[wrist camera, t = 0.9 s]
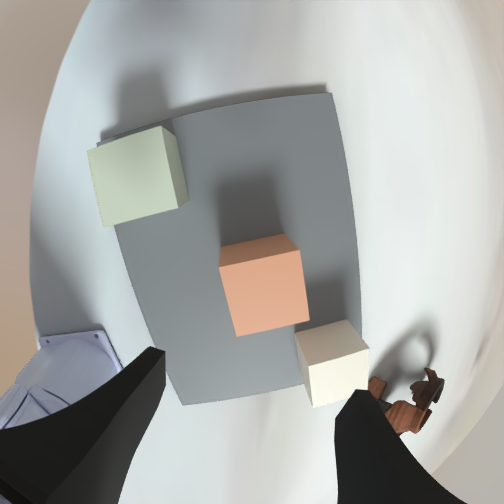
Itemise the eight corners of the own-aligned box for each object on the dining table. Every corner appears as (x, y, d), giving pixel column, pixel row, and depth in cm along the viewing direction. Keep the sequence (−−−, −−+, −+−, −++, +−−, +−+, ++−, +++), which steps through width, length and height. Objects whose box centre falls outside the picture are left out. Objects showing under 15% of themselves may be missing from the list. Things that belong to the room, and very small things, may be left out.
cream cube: (300, 373, 26) (313, 408, 21) (294, 332, 25) (308, 366, 20) (348, 360, 26) (367, 391, 21) (346, 318, 25) (369, 348, 20)
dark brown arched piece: (377, 353, 28) (440, 378, 22) (403, 351, 34) (453, 370, 27) (336, 440, 28) (388, 471, 21) (370, 424, 33) (414, 447, 27)
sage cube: (129, 216, 21) (103, 227, 16) (115, 154, 19) (87, 150, 15) (189, 200, 21) (178, 208, 16) (175, 136, 20) (160, 125, 15)
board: (183, 399, 27) (182, 405, 26) (101, 144, 20) (96, 143, 19) (358, 361, 28) (361, 366, 27) (327, 95, 20) (331, 92, 19)
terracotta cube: (234, 304, 23) (236, 336, 19) (220, 247, 22) (218, 267, 17) (293, 291, 24) (309, 320, 19) (284, 233, 22) (299, 249, 17)
